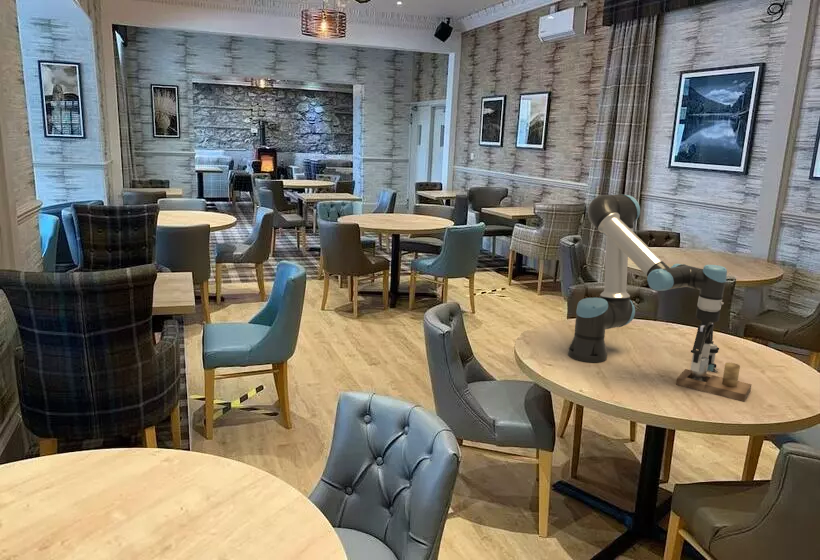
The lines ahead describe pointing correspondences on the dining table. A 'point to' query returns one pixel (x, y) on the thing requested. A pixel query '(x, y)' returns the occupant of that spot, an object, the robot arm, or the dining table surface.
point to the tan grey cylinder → (701, 370)
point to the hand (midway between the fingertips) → (699, 365)
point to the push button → (712, 358)
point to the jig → (718, 383)
